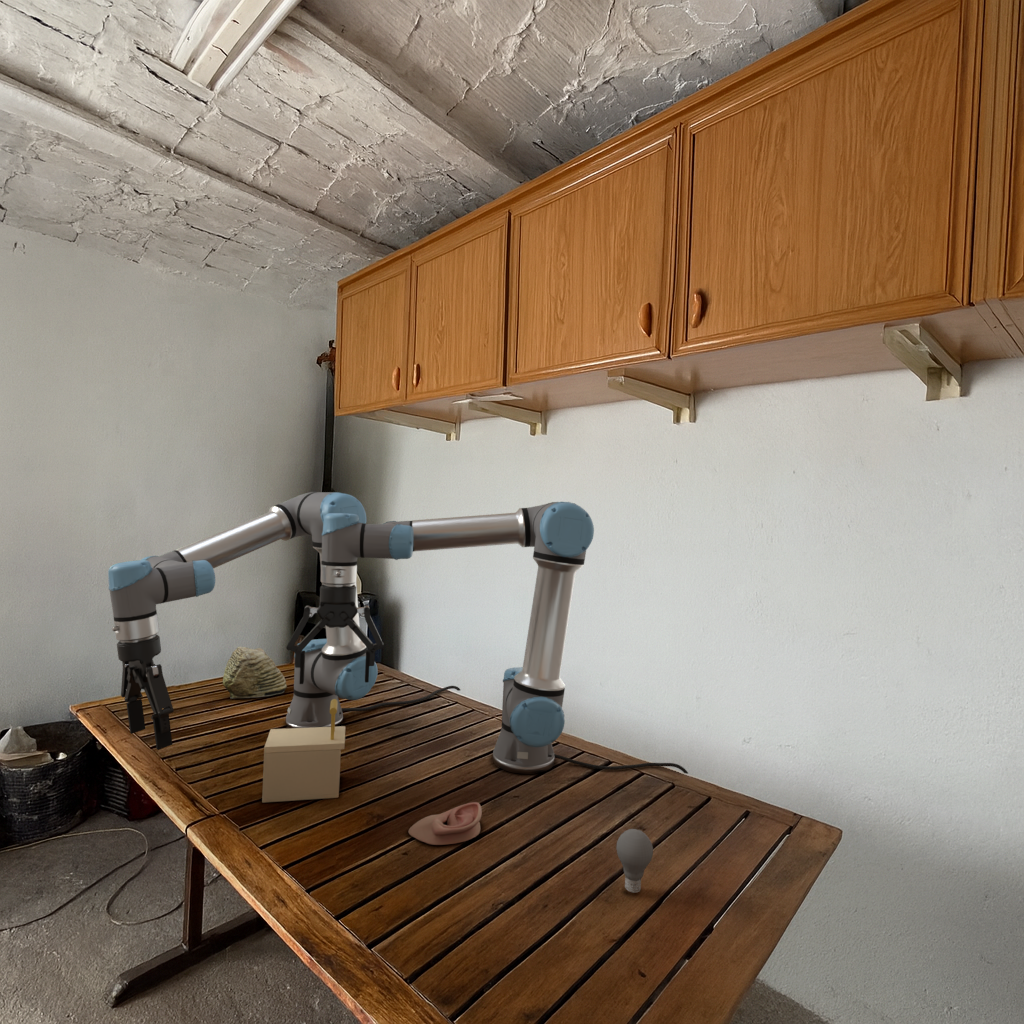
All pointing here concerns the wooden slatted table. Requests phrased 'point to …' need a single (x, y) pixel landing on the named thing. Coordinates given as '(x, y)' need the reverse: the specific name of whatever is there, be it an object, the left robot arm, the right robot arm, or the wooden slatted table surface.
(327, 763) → the chest
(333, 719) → the lid
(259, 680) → the fossil
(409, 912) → the wooden slatted table surface
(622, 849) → the light bulb
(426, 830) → the anatomical model
